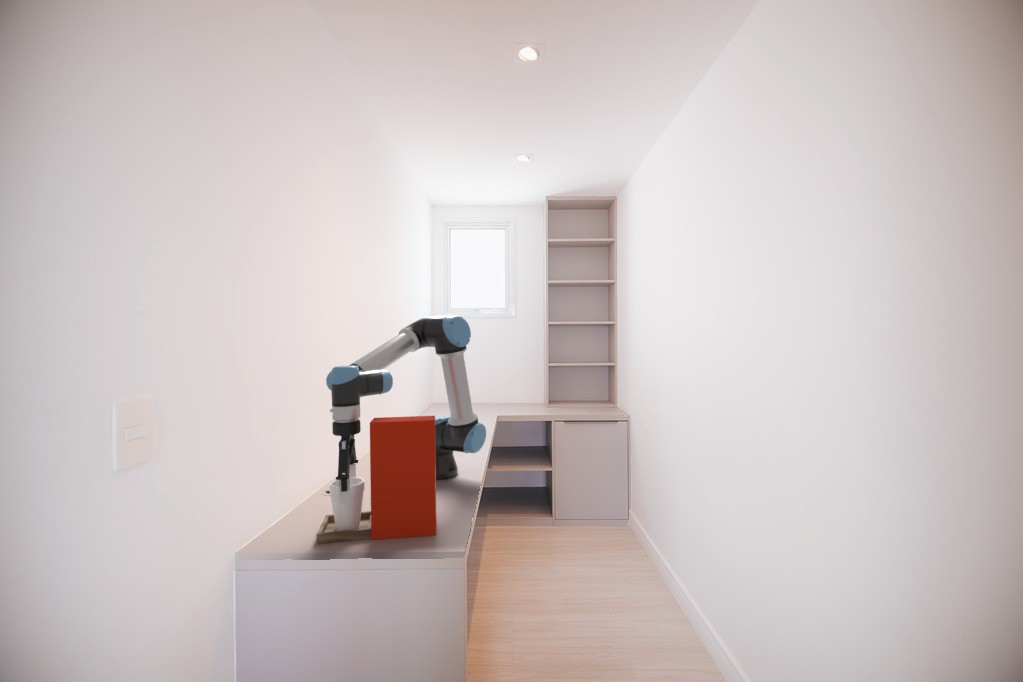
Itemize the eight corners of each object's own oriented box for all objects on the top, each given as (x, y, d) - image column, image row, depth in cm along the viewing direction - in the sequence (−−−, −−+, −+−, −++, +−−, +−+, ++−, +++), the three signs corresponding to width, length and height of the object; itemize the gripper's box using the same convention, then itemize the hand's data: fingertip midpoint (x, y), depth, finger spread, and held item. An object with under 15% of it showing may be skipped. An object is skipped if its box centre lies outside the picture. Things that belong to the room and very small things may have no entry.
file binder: (435, 536, 123) (434, 419, 123) (371, 540, 121) (369, 422, 121) (436, 524, 131) (435, 415, 131) (375, 528, 129) (374, 417, 129)
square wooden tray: (326, 523, 133) (325, 515, 133) (375, 518, 136) (375, 510, 136) (316, 544, 119) (316, 534, 119) (371, 538, 122) (371, 529, 122)
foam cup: (370, 527, 127) (370, 481, 128) (339, 537, 121) (338, 489, 121) (355, 518, 134) (355, 475, 134) (324, 527, 128) (324, 482, 128)
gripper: (339, 413, 139) (340, 481, 139) (324, 429, 115) (326, 511, 115) (364, 412, 141) (366, 479, 141) (355, 427, 116) (357, 508, 117)
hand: (348, 494), depth 128 cm, fingers open, 13 cm apart
